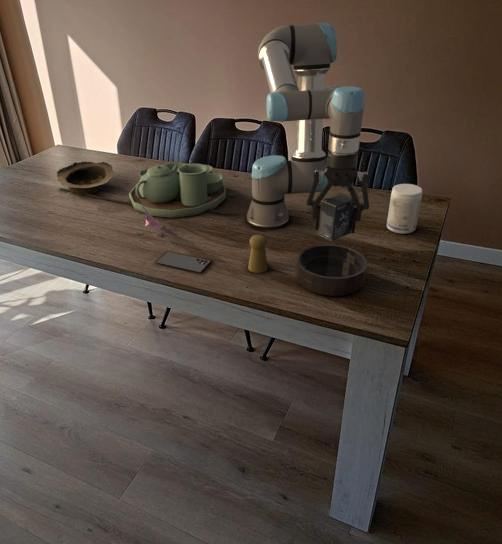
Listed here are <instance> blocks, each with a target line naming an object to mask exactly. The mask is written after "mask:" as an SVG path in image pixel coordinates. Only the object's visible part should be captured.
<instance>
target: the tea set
mask: <svg viewBox="0 0 502 544" xmlns="http://www.w3.org/2000/svg"><path fill="white" fill-rule="evenodd" d="M138 175H139V177H140V179H139V181H138V182H137V183H136V184H135V186H134V187H133V188H132V189H131V190H130V191H129V193H128V195H129V196H128V197H129V199H130V203H132V205H131V206H133V208H134V210H137V211H139V212H141V213H142V214H145V211H144V209H143V207H144V208H145V209H146V210H147V211H148V213H149V214H151V215H152V217H162V218H181V217H189V216H197V215H200V214H202V213H206V212H205V211H207V210H215V209H216V208H217V207H218V206H220V204H221V203H222V202H223V201H224V200H226V197H227V191H226V185H225V182H223V180H224V176H223V175H222V174H220V173H215V172H214V167H213V166H211V165H209V164H201V163H184V162H172V163H167V164H165V165H161V164H158V165H154V166H151V167H149V168H144V169H142V170H140V171H139V172H138ZM142 206H143V207H142Z"/></svg>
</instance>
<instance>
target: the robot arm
mask: <svg viewBox="0 0 502 544" xmlns="http://www.w3.org/2000/svg"><path fill="white" fill-rule="evenodd" d="M337 55H338V40H337V34H336V31H335V28H334V27H333V24H330V23H328V22H315V23H303V24H290V25H289V24H287V25H286V24H285V25H281V26H278V27H276V28H274V29H273V30H271V31H270V32H268V33H267V34H266V35H265V36H264V38H263V39H262V41H261V42H260V44H259V46H258V49H257V58H258V63H259V65H260V67H261V68H262V70H264V73H265V77H266V81H267V86H268V88H269V93H268V94H267V95H266V102H265V103H266V104H265V105H266V107H265V109H266V118H267V120H268V121H269V122H273V123H274V122H279V123H284V122H294V121H295V122H296V137H295V138H296V139H295V140H296V141H295V142H296V143H295V151H293V152H292V153H291V159H289V160H287V158H286V157H285V156H283V155H277V154H273V155H272V154H271V155H266V156H263V157H260V158H258V159H257V160H255V161H254V162H253V164H252V168H251V202H250V204H249V208H248V211H247V212H239V211H238V212H237V211H235V212H228V211H227V212H226V211H220V210H215V209H211V210H207V211H205V212H204V213H206V212H207V213H213V214H219V215H229V216H232V215H233V216H235V215H237V216H239V215H241V216H243V215H244V216H246V222H247V223H248V225H250V226H251V227H253V228H257V229H261V230H275V229H279V228H282V227H285V226H286V225H287V224H288V223H289V217H290V216H289V211H288V208H287V205H286V202H285V195H295V194H297V195H298V194H309V195H308V197H307V200H306V205H307V206H309V207H312V218H313V219H315V231H318V227H319V217H320V207H321V200H324V198H325V197H326V195H327V194H328V192H329V191H330V190H331V188H332V187H343V188H346V189H347V191H348V193H349V195H350V197H351V198H352V199H353V201H354V204H355V208H354V215H353V223H352V230H351V234H355V232H356V224H357V222H360V221H361V219H362V212H363V211H364V210H367V211H368V210H369V209H370V197H369V190H368V189H369V188H368V179H369V172H368V171H366V170H365V171H363V172H362V171H358V168H357V166H358V158H359V153H358V151H359V149H360V141H361V131H362V125H363V116H364V108H365V105H366V103H365V102H366V101H365V97H366V93H365V90H364V88H362V87H357V86H351V85H348V86H339V85H336V84H335V85H334V84H333V85H329V86H327V87H326V88H325V83H326V74H327V73H328V72H329V71H330V70H331V64H333V63H334V62H336V60H337ZM292 66H293V67H292ZM294 73H295V74H296V75H297V79H296V77H295V74H294ZM324 120H330V123H329V124H330V126H329V135H328V147H327V149H328V152H327V153H326V152H325V151H324V150H323V148H322V147H323V129H324V128H323V127H324V126H323V125H324ZM357 177H358V180H359V181H360V182H361V193H362V199H363V203H362V202H361V200H360V197H359V195H358V192H357V190H356V188H355V185H354V182H353V181H354V180H355V179H356V178H357ZM59 190H60V191H64V192H70V193H72V192H71V191H70V190H69V188H62V187H60V188H59ZM316 193H319V194H318V195H317V197H316V199H315V200H314V197H315V194H316ZM83 196H89V197H92V198H97V199H101V200H106V201H110V202H114V203H119V204H124V205H129V206H133V205H132V202H128V201H123V200H117V199H113V198H108V197H104V196H100V195H96V194H88V193H86V194H84V195H83Z"/></svg>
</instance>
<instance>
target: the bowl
mask: <svg viewBox="0 0 502 544" xmlns="http://www.w3.org/2000/svg"><path fill="white" fill-rule="evenodd" d="M367 269H368V260H367V259H366V256H364V255H363V253H361V252H359V251H358V250H355V249H353V248H351V247H348V246H344V245H340V244H332V243H331V244H330V243H329V244H316V245H312V246H309V247H306V248H305V249H302V250H301V251H300V252H299V253H298V255H297V258H296V269H295V277H296V280H297V283H298V284H300V286H302V287H303V288H304V289H306V290H308V291H309V292H312V293H316V294H317V295H318V294H319V295H322V296H331V297H332V296H333V297H336V296H337V297H339V296H346V295H350V294H355V293H356V292H358V291H359V290H361V289H362V288H363V286H365V282H366V276H367Z"/></svg>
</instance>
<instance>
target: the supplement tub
mask: <svg viewBox="0 0 502 544" xmlns="http://www.w3.org/2000/svg"><path fill="white" fill-rule="evenodd" d="M422 198H423V188H422V187H421V186H419V185H416V184H412V183H399V184H395V185H394V186H393V187H392V190H391V194H390V201H389V206H388V214H387V220H386V221H387V222H386V228H387V229H388V230H389V231H390V232H393V233H395V234H402V235H403V234H405V235H406V234H411V233H413V232H414V231H416V229H417V225H418V219H419V215H420V209H421V203H422Z"/></svg>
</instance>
